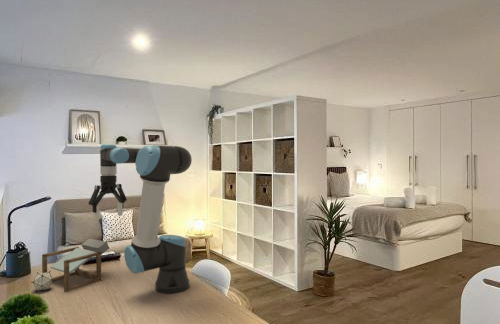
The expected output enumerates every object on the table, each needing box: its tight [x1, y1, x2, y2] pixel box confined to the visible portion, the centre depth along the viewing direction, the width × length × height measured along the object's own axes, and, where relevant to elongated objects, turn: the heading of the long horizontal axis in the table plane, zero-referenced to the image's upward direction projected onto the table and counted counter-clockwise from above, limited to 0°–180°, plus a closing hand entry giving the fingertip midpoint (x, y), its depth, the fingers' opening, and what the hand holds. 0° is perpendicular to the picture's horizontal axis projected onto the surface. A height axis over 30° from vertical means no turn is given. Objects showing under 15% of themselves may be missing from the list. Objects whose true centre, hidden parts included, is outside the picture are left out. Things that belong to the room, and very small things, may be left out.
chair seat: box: [50, 238, 110, 274], centre depth 161 cm, size 16×22×4 cm
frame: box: [41, 246, 102, 293], centre depth 157 cm, size 20×17×14 cm
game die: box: [30, 270, 56, 293], centre depth 147 cm, size 9×8×10 cm
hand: (108, 217), depth 168 cm, fingers open, 13 cm apart
